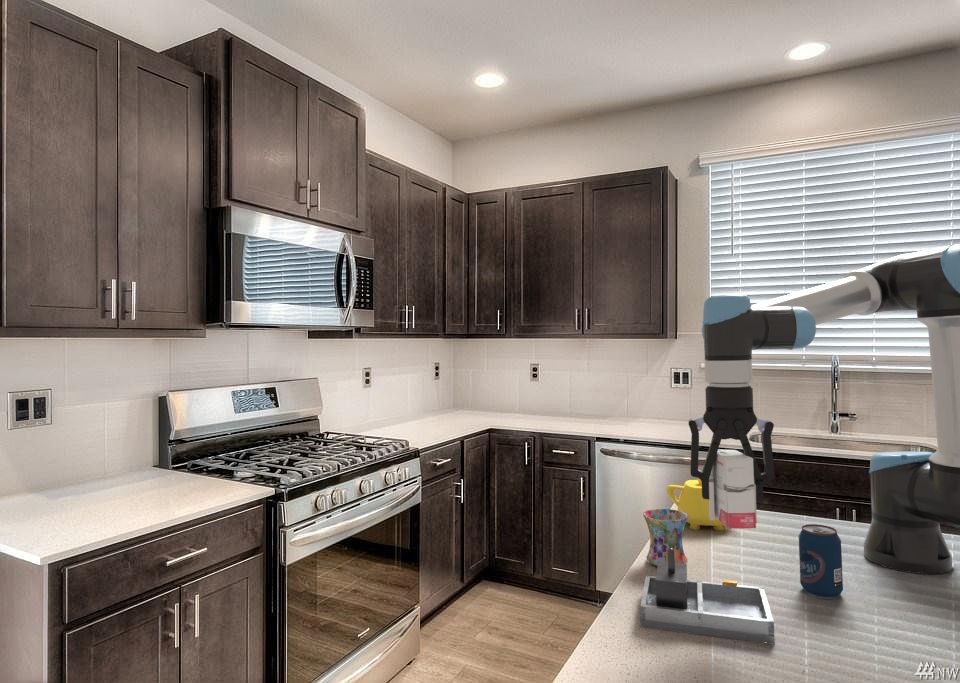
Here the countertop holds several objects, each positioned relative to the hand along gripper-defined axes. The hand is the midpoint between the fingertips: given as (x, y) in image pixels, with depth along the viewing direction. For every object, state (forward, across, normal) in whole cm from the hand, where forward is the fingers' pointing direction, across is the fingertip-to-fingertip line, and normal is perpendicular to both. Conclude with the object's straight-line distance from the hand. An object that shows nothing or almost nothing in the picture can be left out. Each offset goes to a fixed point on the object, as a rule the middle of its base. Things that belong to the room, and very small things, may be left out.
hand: (732, 519), depth 99 cm
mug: (+18, +12, -25) cm, 33 cm away
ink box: (+1, 0, 0) cm, 1 cm away
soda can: (+17, -16, -16) cm, 29 cm away
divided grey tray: (+17, +5, 0) cm, 18 cm away
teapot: (+17, +3, -54) cm, 57 cm away
